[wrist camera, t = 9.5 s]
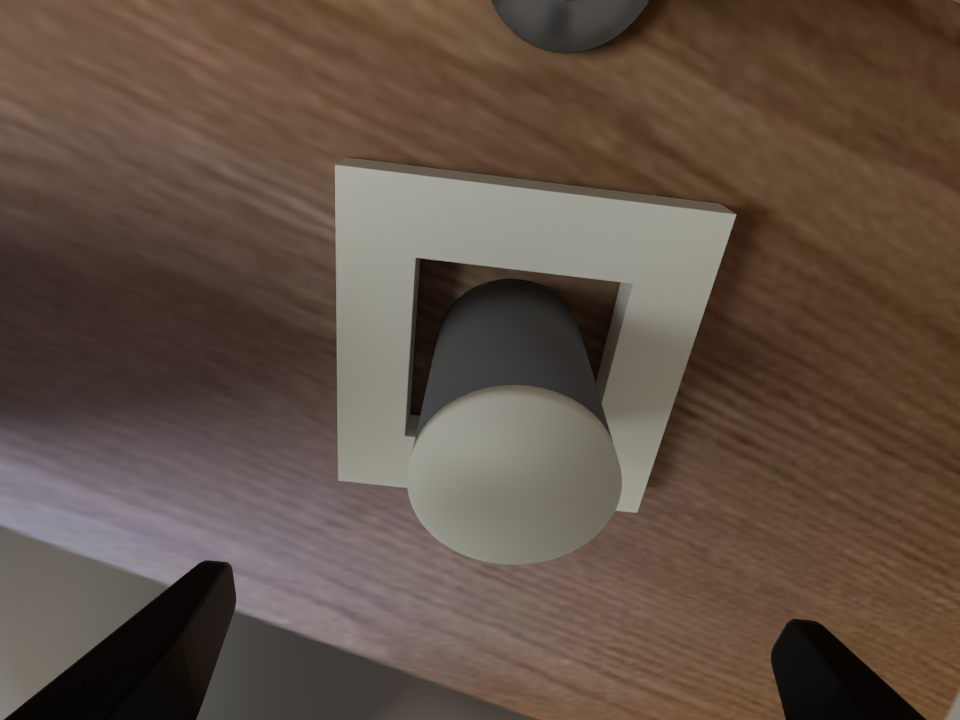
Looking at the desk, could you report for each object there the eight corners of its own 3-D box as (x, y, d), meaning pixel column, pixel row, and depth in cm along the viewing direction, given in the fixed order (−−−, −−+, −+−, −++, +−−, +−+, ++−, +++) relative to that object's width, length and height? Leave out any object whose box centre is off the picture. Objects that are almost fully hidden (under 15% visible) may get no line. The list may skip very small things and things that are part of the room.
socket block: (346, 457, 19) (338, 480, 18) (347, 157, 15) (334, 164, 14) (629, 488, 20) (637, 512, 19) (719, 203, 15) (736, 214, 14)
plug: (432, 398, 18) (402, 553, 12) (444, 270, 16) (413, 385, 10) (566, 413, 18) (596, 574, 13) (593, 288, 16) (646, 412, 10)
